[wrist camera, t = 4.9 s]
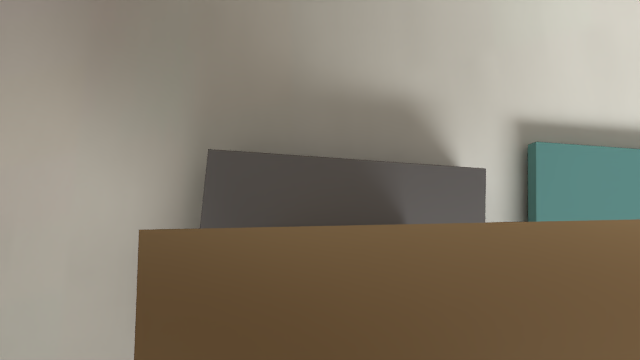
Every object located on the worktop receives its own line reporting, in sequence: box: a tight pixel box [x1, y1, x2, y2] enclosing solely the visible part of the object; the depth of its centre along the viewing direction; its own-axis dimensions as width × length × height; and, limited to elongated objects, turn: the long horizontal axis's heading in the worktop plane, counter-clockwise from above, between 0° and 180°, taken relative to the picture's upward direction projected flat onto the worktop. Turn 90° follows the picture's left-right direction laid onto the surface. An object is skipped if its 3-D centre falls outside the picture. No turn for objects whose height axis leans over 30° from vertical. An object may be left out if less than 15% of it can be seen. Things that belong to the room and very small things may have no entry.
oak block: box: [134, 219, 640, 360], centre depth 8 cm, size 5×5×10 cm
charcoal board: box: [200, 149, 486, 229], centre depth 14 cm, size 10×10×2 cm
